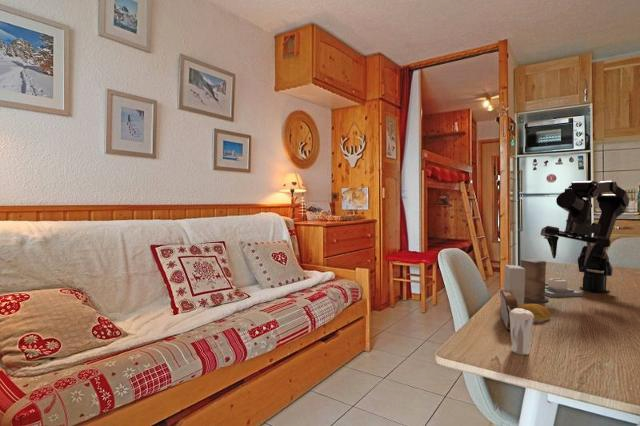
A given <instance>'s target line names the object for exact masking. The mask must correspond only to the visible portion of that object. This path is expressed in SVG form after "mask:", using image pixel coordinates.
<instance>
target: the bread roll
mask: <svg viewBox="0 0 640 426" xmlns="http://www.w3.org/2000/svg"><path fill="white" fill-rule="evenodd" d="M518 308H522V309H524V310H528V311H530V312H532V314H533V315H534V320H533V323H542V322H545V321H546V322H547V321H549V320H550V318H551V313H550V311H549V310H548V309H547V308H546V307H545V306H543V305H541V304H539V303H524V305H519V306H518Z"/></svg>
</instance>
